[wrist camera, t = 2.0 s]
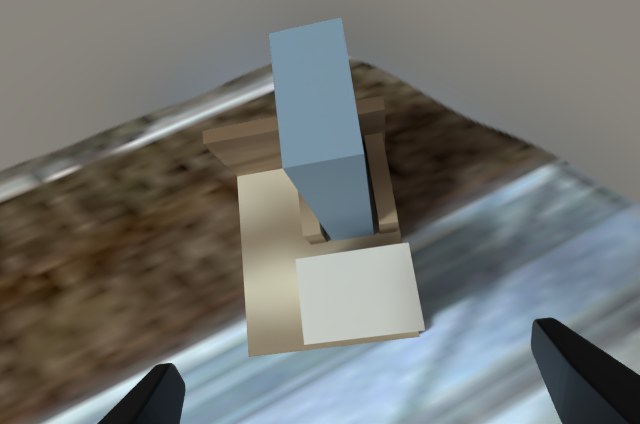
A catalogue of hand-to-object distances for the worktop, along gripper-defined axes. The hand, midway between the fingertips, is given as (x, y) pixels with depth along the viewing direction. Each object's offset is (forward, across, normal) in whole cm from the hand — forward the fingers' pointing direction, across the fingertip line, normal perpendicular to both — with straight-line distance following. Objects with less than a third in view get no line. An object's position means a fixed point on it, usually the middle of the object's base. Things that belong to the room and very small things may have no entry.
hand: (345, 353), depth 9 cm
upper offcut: (+9, 0, +6) cm, 10 cm away
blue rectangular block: (+14, 0, +3) cm, 15 cm away
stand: (+13, +2, +6) cm, 15 cm away
